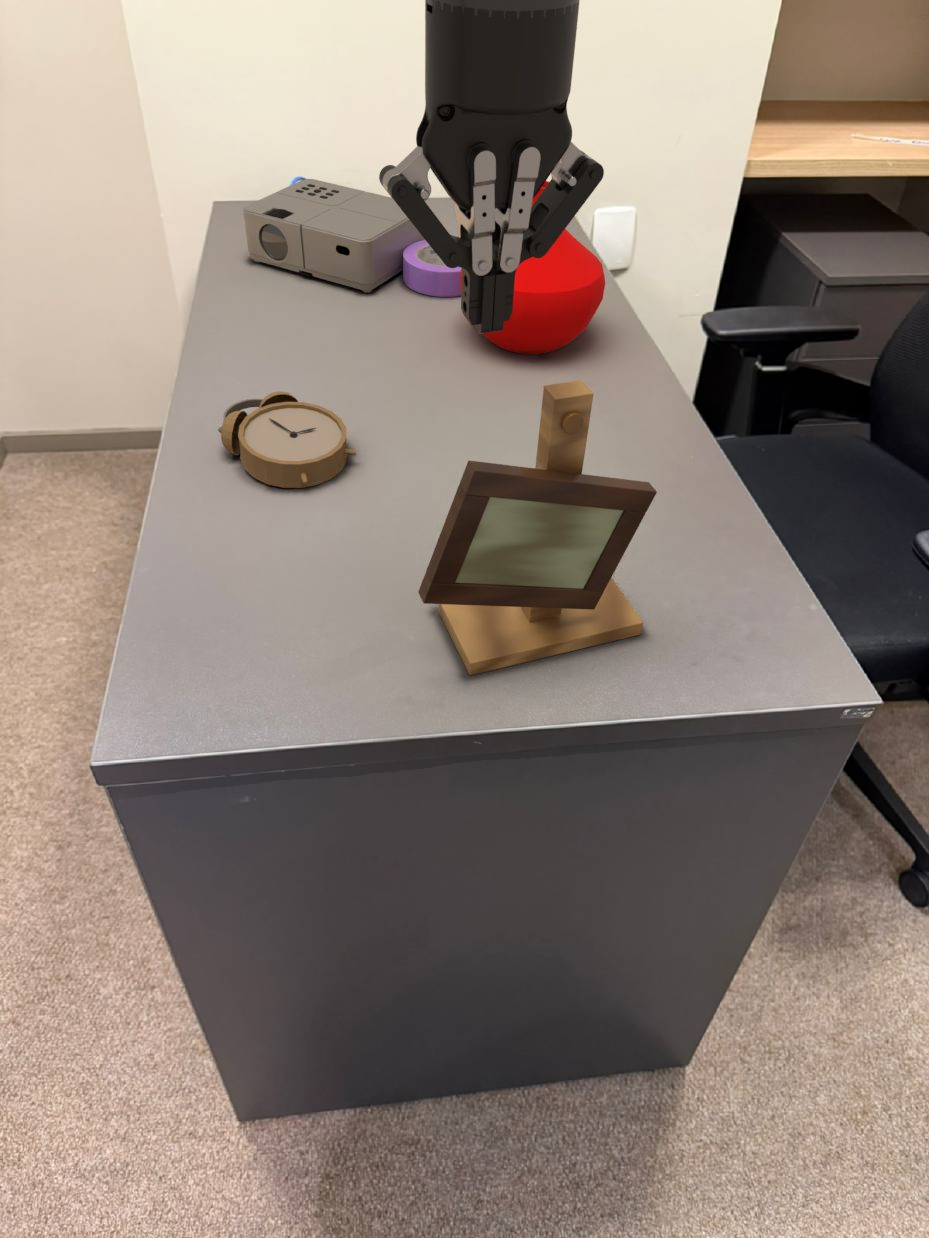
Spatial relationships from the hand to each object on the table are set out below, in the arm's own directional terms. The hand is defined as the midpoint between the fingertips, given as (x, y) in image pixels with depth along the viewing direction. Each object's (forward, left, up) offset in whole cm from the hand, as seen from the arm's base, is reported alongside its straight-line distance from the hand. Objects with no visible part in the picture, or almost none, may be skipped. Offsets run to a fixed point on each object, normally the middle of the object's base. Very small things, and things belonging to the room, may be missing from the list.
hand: (485, 326), depth 55 cm
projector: (+9, +84, -30) cm, 90 cm away
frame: (+3, 0, -24) cm, 24 cm away
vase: (+27, +53, -30) cm, 67 cm away
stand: (+7, +2, -30) cm, 31 cm away
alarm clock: (-9, +35, -30) cm, 47 cm away
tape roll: (+22, +73, -30) cm, 82 cm away
